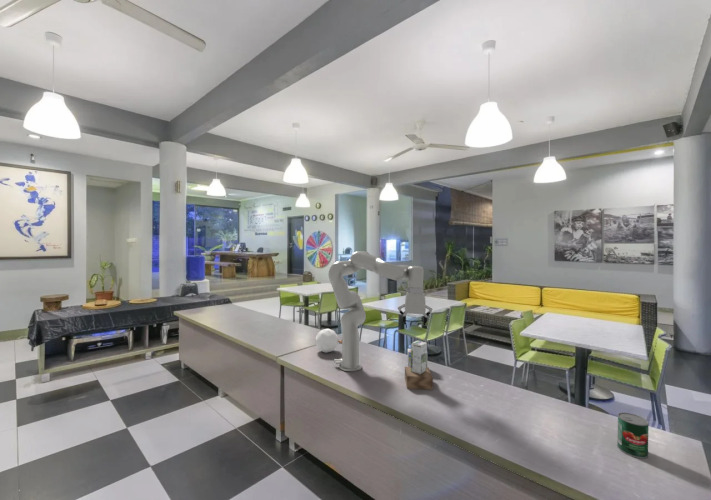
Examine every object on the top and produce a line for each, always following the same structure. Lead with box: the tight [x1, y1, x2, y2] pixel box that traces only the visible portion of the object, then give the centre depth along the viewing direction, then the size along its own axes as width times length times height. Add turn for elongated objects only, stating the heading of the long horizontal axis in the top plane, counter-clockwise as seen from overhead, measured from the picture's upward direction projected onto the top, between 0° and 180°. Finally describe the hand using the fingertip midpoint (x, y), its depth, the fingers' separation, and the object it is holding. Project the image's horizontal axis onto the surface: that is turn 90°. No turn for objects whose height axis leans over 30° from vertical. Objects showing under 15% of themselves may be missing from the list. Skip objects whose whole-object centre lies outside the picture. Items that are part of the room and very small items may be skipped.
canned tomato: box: [616, 411, 650, 459], centre depth 108 cm, size 8×8×11 cm
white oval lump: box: [315, 328, 342, 354], centre depth 206 cm, size 14×15×20 cm
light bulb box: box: [407, 348, 428, 367], centre depth 177 cm, size 11×7×11 cm, turn 84°
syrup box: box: [410, 340, 428, 374], centre depth 159 cm, size 6×6×14 cm
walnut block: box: [404, 366, 434, 390], centre depth 159 cm, size 12×12×6 cm
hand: (414, 324), depth 162 cm, fingers open, 9 cm apart
